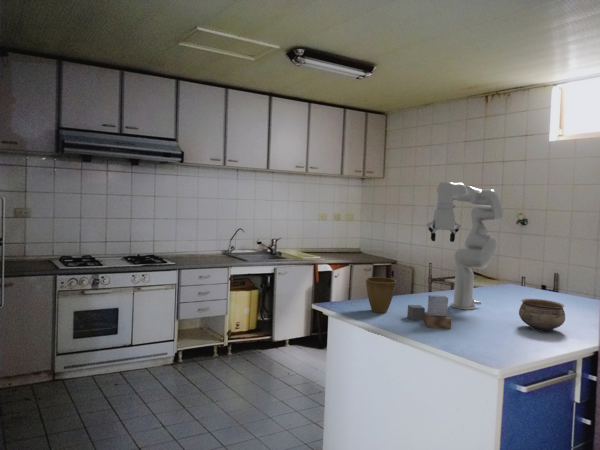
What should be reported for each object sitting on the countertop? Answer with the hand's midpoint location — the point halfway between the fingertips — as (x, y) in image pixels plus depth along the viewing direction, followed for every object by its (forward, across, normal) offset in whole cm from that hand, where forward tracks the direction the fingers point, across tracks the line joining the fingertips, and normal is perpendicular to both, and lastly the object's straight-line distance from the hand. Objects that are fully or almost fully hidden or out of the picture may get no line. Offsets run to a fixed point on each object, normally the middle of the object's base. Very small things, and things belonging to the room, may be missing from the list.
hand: (442, 241), depth 239 cm
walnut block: (+37, +10, +24) cm, 45 cm away
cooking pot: (+36, -38, +27) cm, 59 cm away
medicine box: (+32, +10, +24) cm, 41 cm away
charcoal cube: (+36, +16, +12) cm, 42 cm away
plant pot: (+36, +30, -1) cm, 47 cm away
